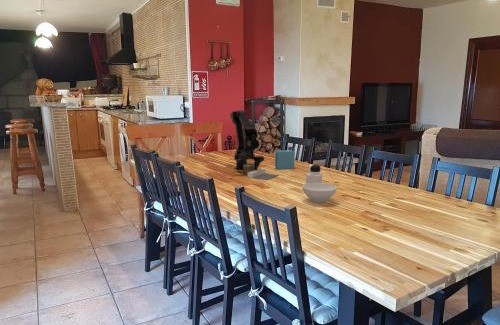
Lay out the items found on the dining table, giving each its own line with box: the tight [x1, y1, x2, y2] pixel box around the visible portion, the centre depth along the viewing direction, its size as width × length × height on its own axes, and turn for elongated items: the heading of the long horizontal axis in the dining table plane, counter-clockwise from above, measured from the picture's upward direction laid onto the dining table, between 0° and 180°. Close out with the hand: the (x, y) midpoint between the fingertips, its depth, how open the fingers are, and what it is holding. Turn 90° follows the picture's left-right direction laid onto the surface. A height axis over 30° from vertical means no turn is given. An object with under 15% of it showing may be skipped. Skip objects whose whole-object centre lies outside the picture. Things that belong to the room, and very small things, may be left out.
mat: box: [252, 172, 279, 181], centre depth 231 cm, size 10×14×1 cm
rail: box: [247, 167, 267, 179], centre depth 234 cm, size 3×16×3 cm, turn 147°
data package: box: [274, 149, 296, 170], centre depth 254 cm, size 12×4×12 cm, turn 107°
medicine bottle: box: [305, 164, 323, 184], centre depth 207 cm, size 7×7×12 cm
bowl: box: [301, 182, 337, 204], centre depth 181 cm, size 16×16×7 cm
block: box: [242, 162, 255, 175], centre depth 241 cm, size 4×7×6 cm, turn 147°
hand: (249, 171), depth 241 cm, fingers open, 9 cm apart
